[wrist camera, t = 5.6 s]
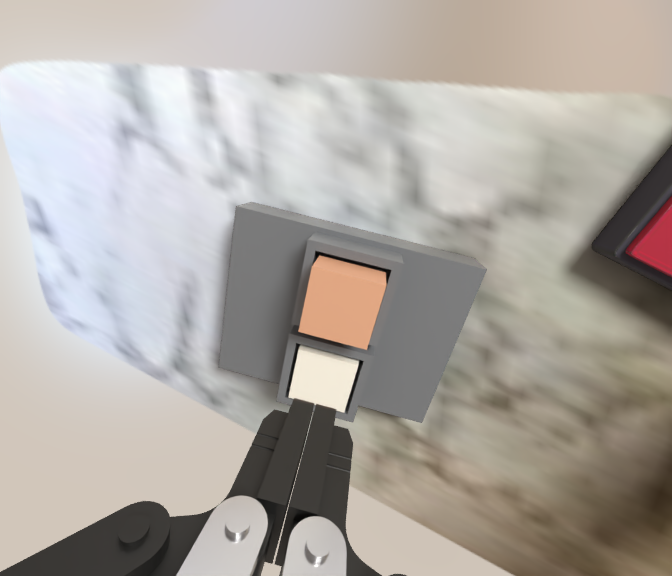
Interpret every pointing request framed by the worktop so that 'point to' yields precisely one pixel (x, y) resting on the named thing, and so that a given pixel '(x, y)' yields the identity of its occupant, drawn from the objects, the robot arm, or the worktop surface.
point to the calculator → (644, 227)
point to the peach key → (342, 302)
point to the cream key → (323, 377)
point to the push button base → (391, 323)
